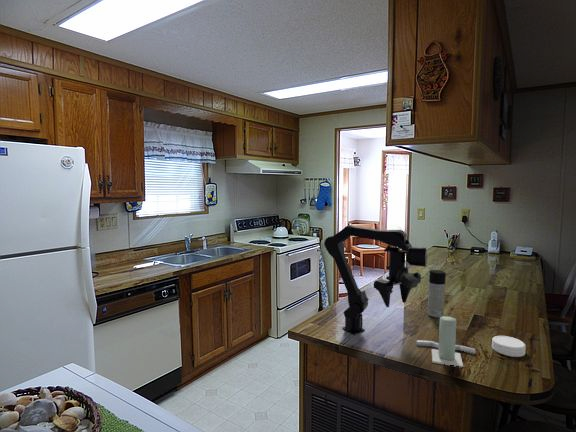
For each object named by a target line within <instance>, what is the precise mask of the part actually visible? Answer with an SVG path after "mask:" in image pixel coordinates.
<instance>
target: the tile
mask: <svg viewBox="0 0 576 432" xmlns="http://www.w3.org/2000/svg"><path fill="white" fill-rule="evenodd" d="M438 352H439V349H437V348H431V360H432V363H433V364H439V365H444V364H445V365H444V366H450V365H454V366H453V367H456V366H459V367H458V368H462V367H463V368H464V362H463V359H462V356H461V355H462V354H461V353H460V352H455V359H454V360H452V361H448V360H443V359H441V358H440V357H439V356H438Z"/></svg>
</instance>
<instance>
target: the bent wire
mask: <svg viewBox="0 0 576 432" xmlns="http://www.w3.org/2000/svg"><path fill="white" fill-rule="evenodd" d="M415 343H416V344H415V345H416V346H418V347H419V346H420V347H431V348H434V349H436V350H439V342H436V341H433V340H421V339H419V340H416V342H415ZM455 350H458V351H459V350H460V352H463V351H464V353H467V354H472V355H475V354H476V348H472V347H469V346H465V345H461V344H455Z"/></svg>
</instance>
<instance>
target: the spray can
mask: <svg viewBox="0 0 576 432" xmlns="http://www.w3.org/2000/svg"><path fill="white" fill-rule="evenodd" d="M446 274H447V273H446V271H444V270H439V269H432V270H429V277H428V294H427V295H428V298H427V315H428V316H429V317H431V318H435V319H436V318H437V319H440V317H442V316H445V315H444V313H445V300H446V299H445V298H446V297H445V295H446Z"/></svg>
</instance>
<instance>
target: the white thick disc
mask: <svg viewBox="0 0 576 432" xmlns="http://www.w3.org/2000/svg"><path fill="white" fill-rule="evenodd" d="M491 338H492V339H491V348H492V349H493V350H494V351H495V352H496V353H499V354H500V355H504V356H508V357H512V358H513V357H515V358H522V357H524V356H525V355H526V343H524V341H522V340H520V339H518V338H515V337H512V336H507V335H496V336H493V337H491Z"/></svg>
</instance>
